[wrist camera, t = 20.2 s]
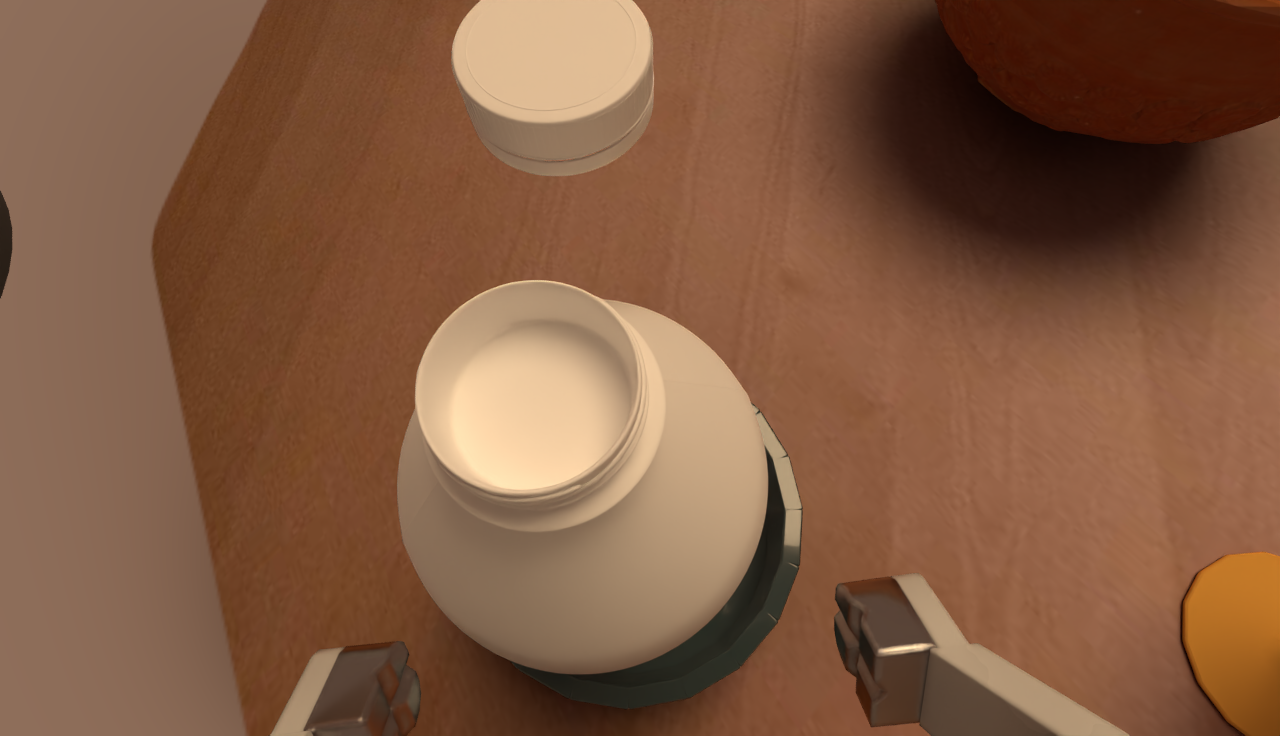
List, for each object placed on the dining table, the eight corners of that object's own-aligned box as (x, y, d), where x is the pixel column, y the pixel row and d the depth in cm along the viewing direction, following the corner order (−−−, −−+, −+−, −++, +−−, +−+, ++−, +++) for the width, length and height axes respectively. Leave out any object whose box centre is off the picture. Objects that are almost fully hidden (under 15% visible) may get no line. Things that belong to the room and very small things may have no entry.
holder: (499, 714, 28) (467, 741, 23) (476, 409, 33) (446, 380, 28) (813, 655, 28) (845, 669, 23) (741, 364, 33) (756, 328, 29)
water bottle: (698, 616, 28) (922, 781, 4) (561, 615, 28) (79, 768, 5) (694, 435, 31) (813, -36, 7) (570, 435, 31) (305, -26, 8)
